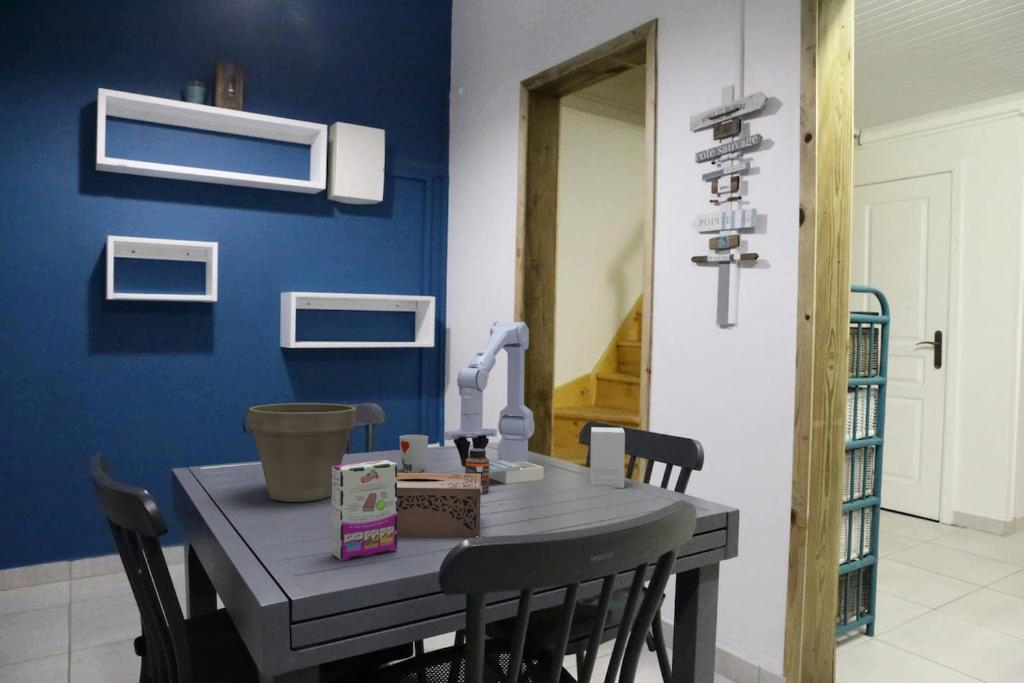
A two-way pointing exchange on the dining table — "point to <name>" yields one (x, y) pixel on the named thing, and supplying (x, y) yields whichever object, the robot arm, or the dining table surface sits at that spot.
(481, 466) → the supplement bottle
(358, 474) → the candy bar box
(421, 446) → the cup
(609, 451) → the supplement box
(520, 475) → the tub
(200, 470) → the dining table surface
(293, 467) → the plant pot
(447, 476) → the tissue box cover
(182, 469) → the dining table surface
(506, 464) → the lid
